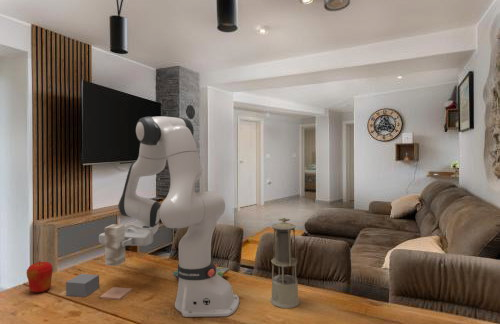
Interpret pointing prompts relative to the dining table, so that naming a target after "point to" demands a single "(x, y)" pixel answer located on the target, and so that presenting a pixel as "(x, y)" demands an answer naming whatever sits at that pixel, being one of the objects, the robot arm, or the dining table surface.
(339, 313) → the dining table surface
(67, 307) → the dining table surface
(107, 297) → the terracotta tile
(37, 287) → the apple
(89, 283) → the charcoal plinth
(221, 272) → the puzzle game
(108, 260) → the cream block
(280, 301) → the lamp
